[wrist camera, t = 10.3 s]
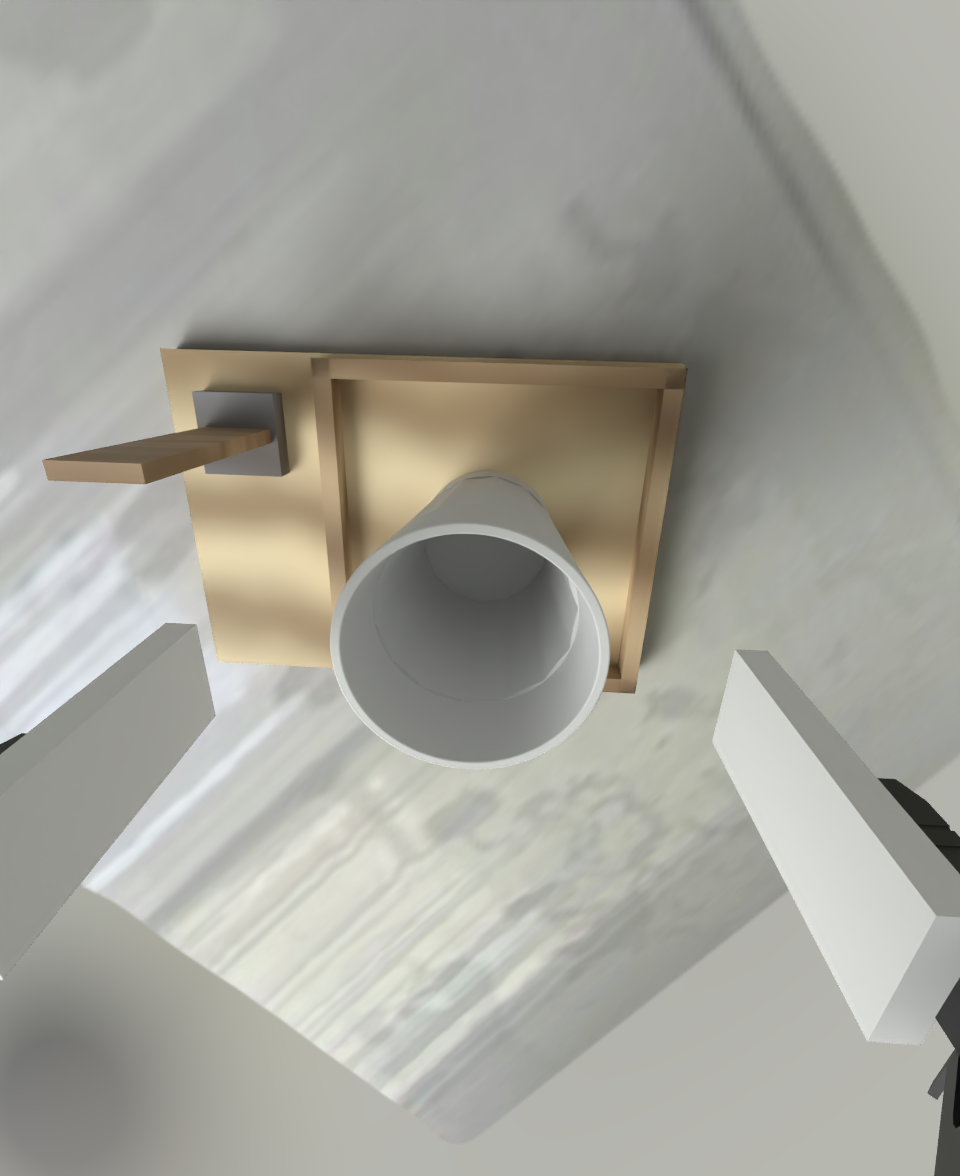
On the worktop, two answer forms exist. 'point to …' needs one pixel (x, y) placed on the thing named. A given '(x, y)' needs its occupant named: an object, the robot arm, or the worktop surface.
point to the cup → (472, 631)
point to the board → (397, 475)
